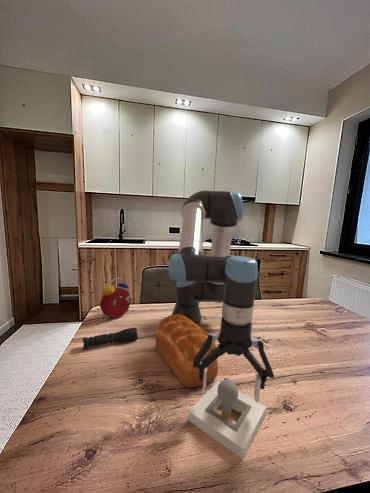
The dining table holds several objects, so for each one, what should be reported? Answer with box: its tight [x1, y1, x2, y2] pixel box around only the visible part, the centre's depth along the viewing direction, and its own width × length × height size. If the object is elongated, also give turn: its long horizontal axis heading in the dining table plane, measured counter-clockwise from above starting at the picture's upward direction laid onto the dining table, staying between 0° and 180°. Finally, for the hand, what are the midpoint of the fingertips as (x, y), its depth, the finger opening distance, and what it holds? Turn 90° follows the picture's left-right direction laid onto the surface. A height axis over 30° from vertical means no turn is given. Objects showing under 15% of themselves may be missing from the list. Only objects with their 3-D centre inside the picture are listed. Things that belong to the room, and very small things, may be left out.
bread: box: [155, 314, 219, 389], centre depth 83 cm, size 14×26×16 cm, turn 31°
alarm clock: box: [99, 277, 132, 320], centre depth 115 cm, size 15×9×20 cm, turn 144°
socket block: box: [188, 380, 267, 460], centre depth 62 cm, size 15×15×3 cm
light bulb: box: [217, 379, 239, 419], centre depth 62 cm, size 6×6×10 cm
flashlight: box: [82, 327, 139, 350], centre depth 93 cm, size 5×21×5 cm, turn 117°
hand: (229, 394), depth 61 cm, fingers open, 13 cm apart
